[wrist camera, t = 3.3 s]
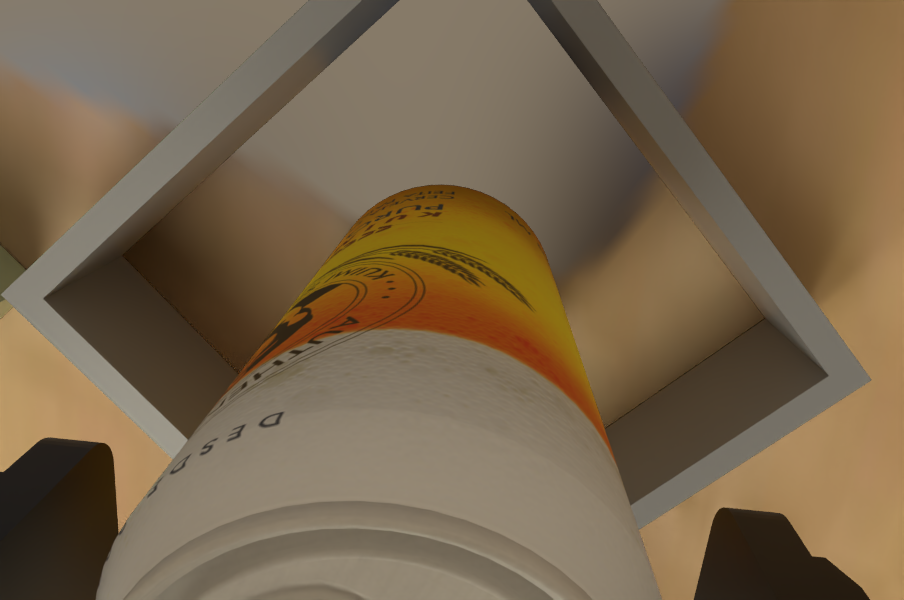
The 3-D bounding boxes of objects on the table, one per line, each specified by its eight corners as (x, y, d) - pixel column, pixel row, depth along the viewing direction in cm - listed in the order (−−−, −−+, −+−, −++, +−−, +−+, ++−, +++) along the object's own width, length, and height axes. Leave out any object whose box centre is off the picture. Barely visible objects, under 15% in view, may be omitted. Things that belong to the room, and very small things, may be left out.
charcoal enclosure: (800, 321, 21) (871, 380, 17) (415, 582, 24) (404, 680, 20) (479, -116, 18) (479, -163, 14) (87, 252, 21) (0, 294, 17)
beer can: (419, 134, 20) (258, 327, 5) (594, 267, 21) (850, 733, 6) (296, 304, 21) (-79, 801, 7) (463, 421, 22) (434, 1066, 8)
